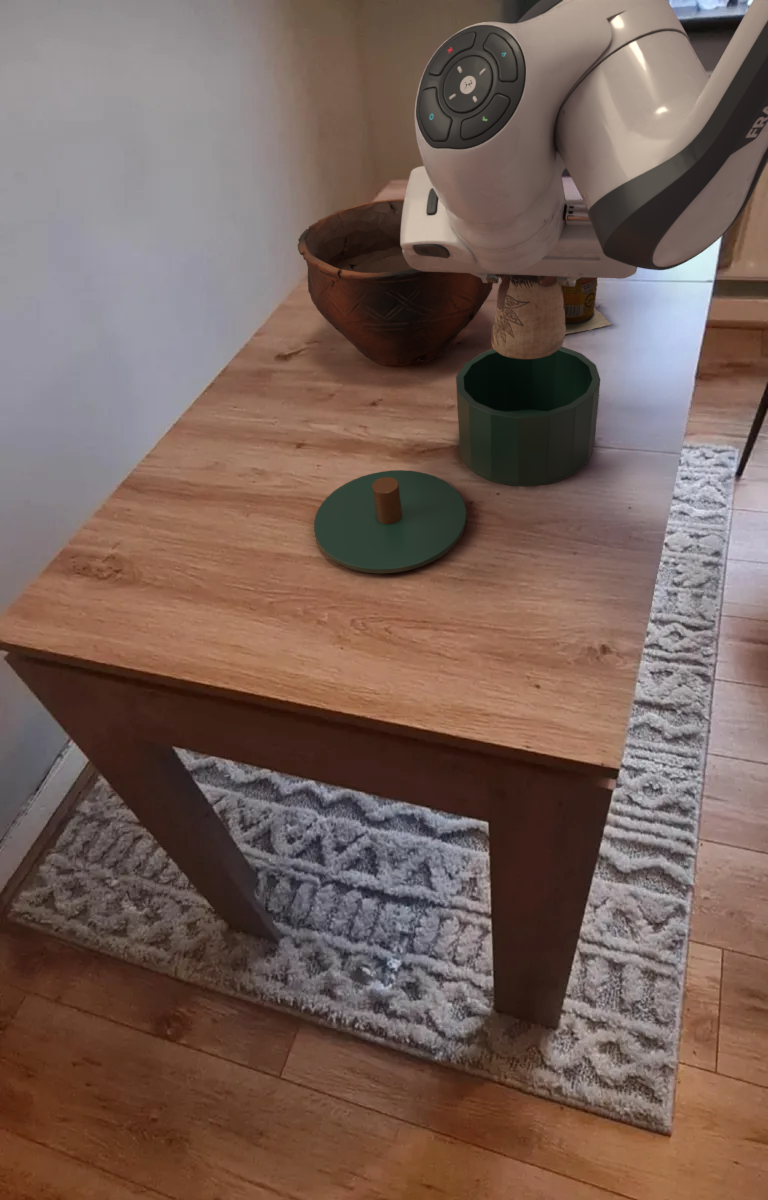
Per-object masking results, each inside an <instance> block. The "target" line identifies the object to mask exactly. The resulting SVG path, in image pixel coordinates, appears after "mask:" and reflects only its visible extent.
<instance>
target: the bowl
mask: <svg viewBox="0 0 768 1200" xmlns="http://www.w3.org/2000/svg"><path fill="white" fill-rule="evenodd" d="M404 199H405V198H392V199H390V198H389V199H383V200H374V201H368V202H364V203H361V204H357V205H354V206H349V207H347V208H344V209H340V210H337V211H334V212H333V213H331V214H329V215H327V216H324V217H322V218H320V219H318V220H317V221H316V222H314V223H312V224H311V225H309V226H308V228H306V229H305V230H304V231H303V232H302V233H301V234H300V236H299V237H298V243H297V251H298V253H299V255H301V256H302V257H303V260H304V261H305V262H306V266H307V289H308V290H307V291H308V293H309V296H310V299H311V302H312V303H313V305H314V306H315V308H316V310H317V311H318V312H319V313H320V314H321V315H322V316H323V318H324V319H325V320H326V321H327V323H329V324H330V325H331V326H332V327H333V328H334V329H335V330H337V331H338V332H339V333H340V334H341V336H343V337H345V338H346V339H347V341H348V342H350V343H351V344H352V345H353V346H354V347H355V348H356V349H357V350H358V351H359V352H360V353H361V354H362V355H363V356H364V357H366V358H368V359H370V361H372V362H374V363H377V364H381V365H385V366H407V365H412V364H415V363H418V361H422V362H428V361H432V360H434V359H435V358H438V357H439V356H440V355H442V354H443V353H445V351H446V350H447V349H448V348H449V347H450V346H451V344H452V343H453V342H454V341H455V340H456V339H457V337H458V336H459V335H460V334H461V333H462V332H463V330H465V328H467V326H468V325H469V324H470V323H471V322H472V321H473V320H474V319H475V317H476V316H477V315H478V313H479V311H480V310H481V308H482V307H483V305H484V304H485V302H486V301H487V299H488V297H489V295H490V294H491V292H492V290H493V284H494V283H483V282H482V280H481V278H480V277H477V276H475V275H472V274H470V273H452V272H424V271H419V270H416V269H414V268H412V267H410V266H409V264H408V263H407V261H406V260H405V258H404V255H403V252H402V247H401V245H400V234H401V220H402V211H403V205H404Z"/></svg>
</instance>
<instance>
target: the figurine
mask: <svg viewBox="0 0 768 1200" xmlns="http://www.w3.org/2000/svg"><path fill="white" fill-rule="evenodd" d="M497 276H499V279H501V281H500V284H499V286H498V289H497V294H496V295H497V296H496V297H497V298H496V306H495V316H494V320H493V323H492V327H491V341H490V342H491V346H492V349H494V350H495V351H496V352H498V353H499V354H501V355H503V356H506V357H509V358H516V359H536V358H542V357H546V356H549V355H551V354H553V353H555V352H556V351H557V350H558V349H559V348H560V347H561V346H562V347H563V343H564V340H565V337H566V334H565V332H566V322H565V309H564V301H563V294H562V287H561V286H559V283H558V276H535V275H508V274H497Z"/></svg>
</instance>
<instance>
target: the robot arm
mask: <svg viewBox="0 0 768 1200" xmlns="http://www.w3.org/2000/svg"><path fill="white" fill-rule="evenodd" d="M696 53H697V52H695V49H694V48H693V46H692V44H691V39H690V37H689V36H688V34H687V32H686V31H685V29H684V27H683V25H682V23H681V21H680V19H679V18H678V16H677V14H676V13H675V11H674V9H673V7H672V5H671V3H670V2H669V0H539V1H538V2H536V3H535V4H534V5H533V6H532V7H530V8H529V10H528V11H527V12H525V14H524V15H522V17H521V18H519V19H518V21H517V22H516V23H510V22H509V23H508V22H499V21H483V22H478V23H474V24H471V25H468V26H466V27H464V28H462V29H460V30H459V31H457V32H455V33H453V34H452V35H451V36H450V37H449V38H447V39H446V40H445V41H443V42H442V43H441V44H440V46H438V47H437V49H436V50H435V51H434V53H433V54H432V56H431V57H430V59H429V60H428V62H427V64H426V66H425V68H424V69H423V72H422V75H421V77H420V80H419V84H418V87H417V92H416V97H415V102H414V129H415V137H416V142H417V143H416V144H417V147H418V151H419V154H420V158H421V161H422V163H423V165H421V166H417V167H414V168H413V169H412V170H411V171H410V174H409V177H408V182H407V185H406V188H405V195H404V198H403V199H404V205H403V211H402V220H401V234H400V245H401V247H402V252H403V255H404V258H405V260H406V261H407V263H408V264H409V266H410V267H412V268H414V269H416V270H419V271H424V272H452V273H470V274H472V275H475V276H477V277H480V278H481V280H482V282H483V283H493V284H499V283H500V277H499V276H497V274H508V275H535V276H558V283H559V286H573V287H574V286H575V284H576V280H577V279H579V278H581V277H591V278H597V279H617V280H618V279H619V280H623V279H627V278H629V277H632V276H633V275H636V273H637V270H638V268H640V269H645V270H651V271H666V270H670V269H674V268H676V267H679V266H681V265H683V264H685V263H687V262H689V261H691V260H693V259H694V258H696V257H697V256H698V255H700V254H702V253H703V252H704V251H706V250H707V249H709V248H710V247H711V246H713V244H715V243H716V242H717V241H718V240H719V239H721V238H722V236H723V235H724V234H726V233H727V232H728V230H729V229H730V228H731V227H732V226H733V225H734V224H735V222H736V221H737V220H738V218H739V217H740V216H741V215H742V213H743V211H744V210H745V208H746V206H747V204H748V203H749V201H750V200H751V197H752V195H753V194H754V191H755V189H756V187H757V185H758V183H759V180H760V179H761V176H762V175H763V172H764V170H765V168H766V166H767V165H768V0H752V2H751V3H750V5H749V7H748V9H747V11H746V12H745V14H744V15H743V18H742V20H741V21H740V23H739V25H738V26H737V28H736V30H735V32H734V34H733V36H732V37H731V39H730V41H729V43H728V44H727V46H726V48H725V50H724V52H723V53H722V55H721V57H720V59H719V61H718V62H717V64H716V66H715V68H714V69H713V71H712V73H711V75H710V76H709V75H708V73H707V71H706V70H705V67H704V66H703V64H702V62H701V61H700V58H699V57H698V55H697V54H696ZM565 170H567V172H568V174H569V176H570V178H571V180H572V182H573V184H574V185H575V188H576V189H577V191H578V193H579V195H580V198H581V199H566V196H565V195H566V194H565V188H564V182H563V177H562V176H563V172H564V171H565Z"/></svg>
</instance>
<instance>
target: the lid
mask: <svg viewBox="0 0 768 1200" xmlns="http://www.w3.org/2000/svg"><path fill="white" fill-rule="evenodd" d="M467 513H468V511H467V506H466V504H465V501H464V498H463V497H462V495H461V493H460V492H459V491H458V490H457V489H456V488H455V487H454V486H452V485H451V483H449V482H447V481H445V480H444V479H442V478H440V477H437V476H435V475H432V474H429V473H425V472H421V471H415V470H402V469H401V470H400V469H398V470H384V471H377V472H373V473H370V474H366V475H362V476H360V477H356V478H354V479H351V480H350V481H348V482H346V483H344V484H343V485H341V486H339V487H338V488H336V489H335V490H334V491H332V493H330V494H329V495H328V496H326V498H325V499H324V500H323V502H322V503H321V504H320V506H319V507H318V510H317V512H316V514H315V518H314V522H313V531H314V536H315V539H316V542H317V545H318V546H319V548H320V549H321V551H322V552H323V554H325V555H326V557H329V559H330V560H332V561H333V562H335V563H337V564H338V565H341V566H342V567H345V568H347V569H351V570H353V571H357V572H363V573H368V574H370V573H371V574H393V573H402V572H407V571H410V570H414V569H418V568H421V567H423V566H425V565H428V564H431V563H432V562H434V561H436V560H438V559H440V558H441V557H443V556H444V555H445V554H447V553H448V552H449V551H450V550H451V549H453V548H454V547H455V545H457V543H458V542H459V540H460V539H461V538H462V536H463V534H464V531H465V530H466V525H467V519H468V518H467V516H468V514H467Z"/></svg>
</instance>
